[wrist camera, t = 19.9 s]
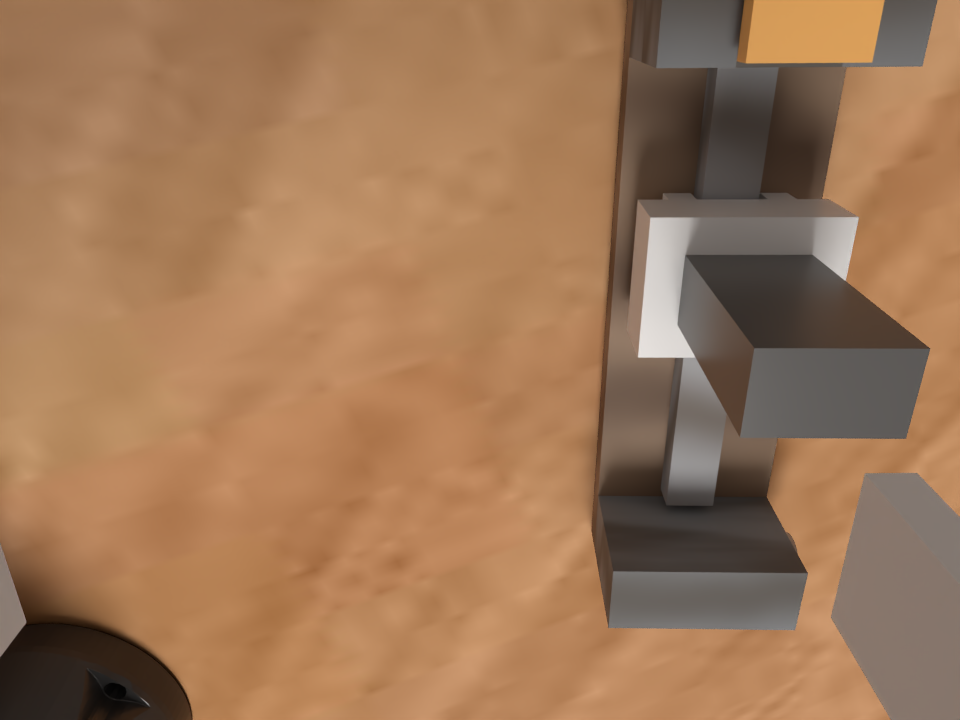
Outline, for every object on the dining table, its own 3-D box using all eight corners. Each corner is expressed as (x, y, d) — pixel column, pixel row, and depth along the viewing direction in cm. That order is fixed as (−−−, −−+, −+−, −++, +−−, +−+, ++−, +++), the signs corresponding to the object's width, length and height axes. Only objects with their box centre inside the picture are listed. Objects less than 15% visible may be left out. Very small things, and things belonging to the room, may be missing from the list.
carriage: (794, 320, 35) (943, 480, 23) (623, 320, 36) (685, 478, 24) (817, 192, 33) (998, 299, 21) (633, 193, 33) (708, 299, 21)
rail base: (758, 532, 43) (806, 630, 36) (591, 530, 44) (608, 627, 37) (869, -67, 30) (974, -87, 24) (632, -64, 31) (669, -84, 24)
